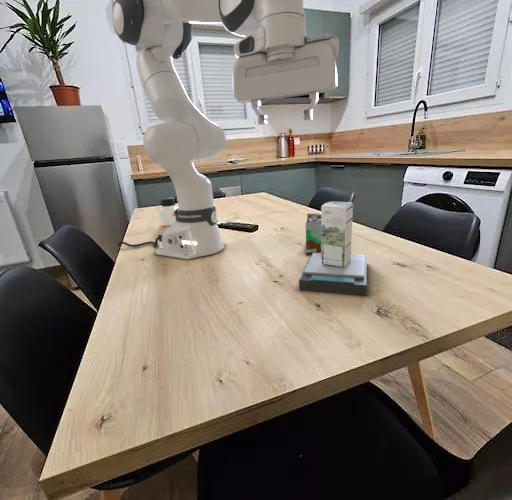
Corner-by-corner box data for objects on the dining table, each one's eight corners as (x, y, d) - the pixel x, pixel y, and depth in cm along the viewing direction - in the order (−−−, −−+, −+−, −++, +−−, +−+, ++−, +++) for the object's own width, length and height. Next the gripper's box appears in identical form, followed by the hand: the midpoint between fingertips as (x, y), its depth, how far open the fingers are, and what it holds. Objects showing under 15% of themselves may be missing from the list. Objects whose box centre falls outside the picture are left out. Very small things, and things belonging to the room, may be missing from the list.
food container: (327, 256, 84) (328, 222, 81) (306, 256, 85) (305, 222, 82) (327, 243, 95) (327, 212, 92) (307, 243, 97) (307, 213, 94)
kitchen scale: (299, 290, 66) (299, 277, 65) (311, 262, 81) (311, 251, 80) (366, 295, 61) (366, 282, 60) (366, 265, 76) (366, 254, 75)
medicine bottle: (177, 225, 134) (172, 198, 131) (161, 226, 135) (157, 200, 131) (181, 221, 141) (177, 196, 137) (166, 222, 141) (162, 197, 138)
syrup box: (351, 260, 72) (353, 201, 68) (344, 269, 68) (346, 206, 63) (329, 257, 75) (329, 200, 71) (320, 265, 71) (320, 205, 66)
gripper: (341, 36, 54) (339, 117, 59) (238, 55, 61) (244, 127, 66) (338, 24, 49) (336, 115, 53) (225, 47, 56) (232, 126, 60)
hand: (284, 122), depth 60 cm, fingers open, 8 cm apart
